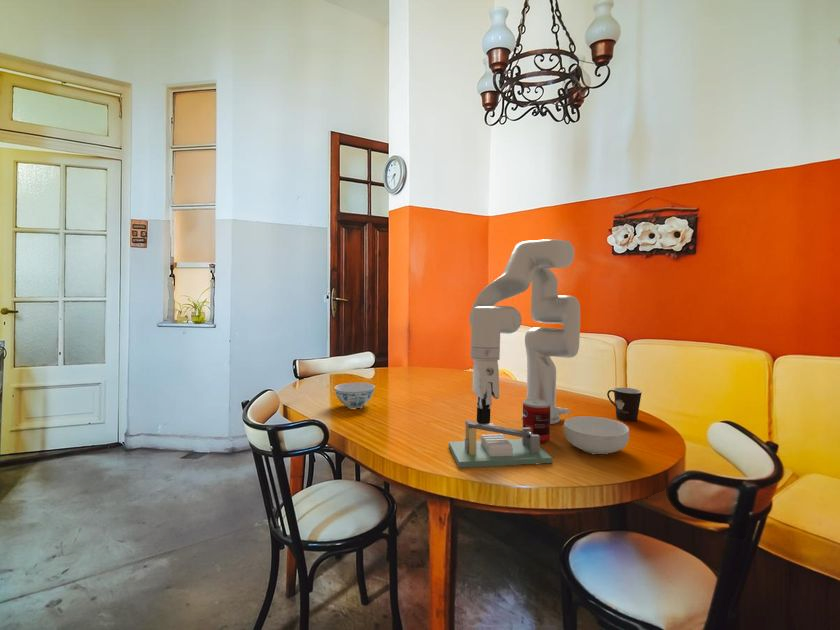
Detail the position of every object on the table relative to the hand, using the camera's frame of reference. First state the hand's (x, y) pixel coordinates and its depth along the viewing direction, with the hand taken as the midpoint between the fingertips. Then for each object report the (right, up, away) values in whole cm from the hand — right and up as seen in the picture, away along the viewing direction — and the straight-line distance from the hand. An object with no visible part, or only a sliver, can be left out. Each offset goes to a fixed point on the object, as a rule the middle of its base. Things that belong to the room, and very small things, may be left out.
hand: (483, 422), depth 109 cm
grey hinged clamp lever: (+5, -3, +1) cm, 6 cm away
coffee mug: (+55, -8, +35) cm, 66 cm away
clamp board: (+4, -9, +2) cm, 10 cm away
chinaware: (-41, -7, +48) cm, 63 cm away
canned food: (+18, -9, +14) cm, 24 cm away
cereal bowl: (+32, -9, +6) cm, 34 cm away
